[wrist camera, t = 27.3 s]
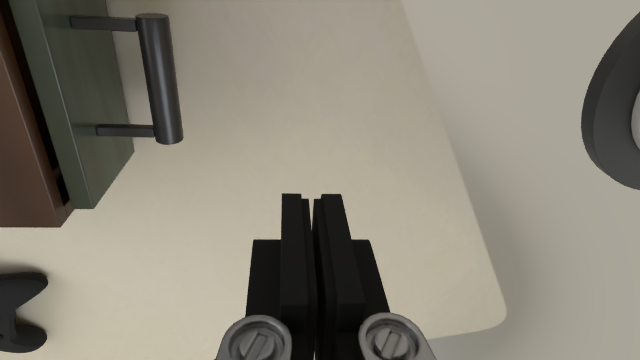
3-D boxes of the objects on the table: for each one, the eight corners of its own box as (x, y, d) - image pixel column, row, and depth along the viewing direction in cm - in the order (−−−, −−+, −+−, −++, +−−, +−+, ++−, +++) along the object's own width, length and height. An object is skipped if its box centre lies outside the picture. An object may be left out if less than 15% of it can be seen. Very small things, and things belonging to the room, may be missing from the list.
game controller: (50, 348, 39) (-28, 383, 35) (29, 311, 42) (-47, 339, 37) (52, 279, 35) (-37, 309, 30) (28, 242, 37) (-58, 264, 33)
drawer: (180, -58, 23) (141, -58, 16) (201, 153, 30) (179, 210, 23) (-199, -86, 21) (-408, -97, 15) (-82, 147, 28) (-189, 207, 22)
